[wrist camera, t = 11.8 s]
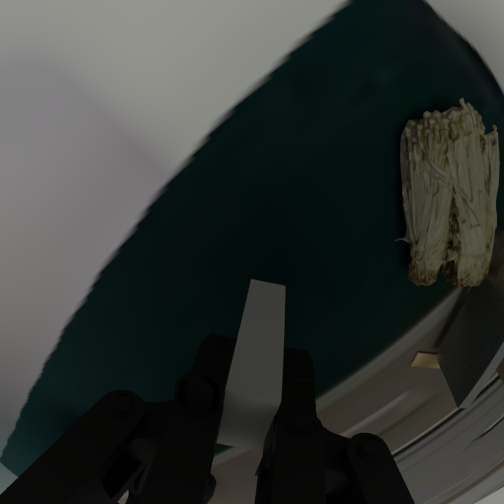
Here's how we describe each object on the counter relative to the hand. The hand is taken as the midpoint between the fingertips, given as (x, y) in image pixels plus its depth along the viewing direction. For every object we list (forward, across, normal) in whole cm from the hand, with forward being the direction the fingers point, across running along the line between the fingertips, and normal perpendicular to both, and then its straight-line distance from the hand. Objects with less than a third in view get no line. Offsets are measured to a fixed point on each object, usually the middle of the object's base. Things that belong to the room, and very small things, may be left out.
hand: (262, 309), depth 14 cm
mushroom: (+12, +13, +6) cm, 19 cm away
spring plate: (+10, +24, -2) cm, 26 cm away
